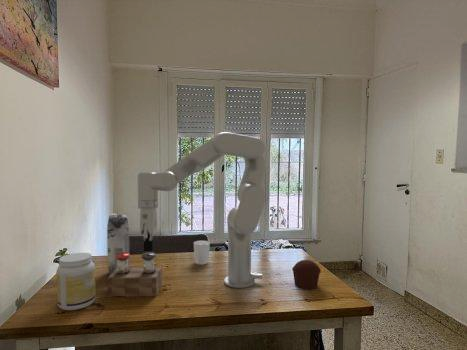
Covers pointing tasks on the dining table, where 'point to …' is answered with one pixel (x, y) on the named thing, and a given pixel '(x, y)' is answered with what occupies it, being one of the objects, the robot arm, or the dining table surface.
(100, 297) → the dining table surface
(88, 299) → the supplement tub
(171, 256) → the dining table surface
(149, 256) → the grey capped peg
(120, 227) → the juice carton
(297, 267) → the muffin
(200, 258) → the white cup
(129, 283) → the wooden slotted frame
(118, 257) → the red plug
